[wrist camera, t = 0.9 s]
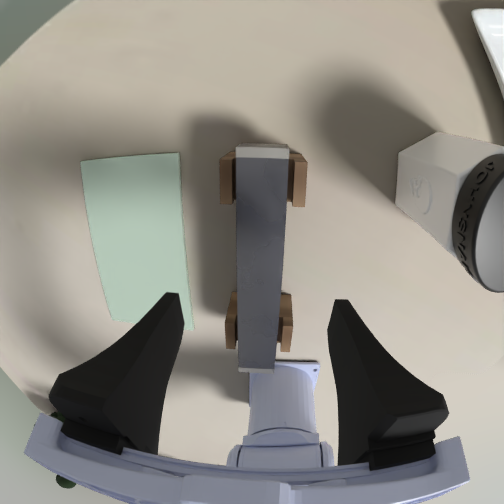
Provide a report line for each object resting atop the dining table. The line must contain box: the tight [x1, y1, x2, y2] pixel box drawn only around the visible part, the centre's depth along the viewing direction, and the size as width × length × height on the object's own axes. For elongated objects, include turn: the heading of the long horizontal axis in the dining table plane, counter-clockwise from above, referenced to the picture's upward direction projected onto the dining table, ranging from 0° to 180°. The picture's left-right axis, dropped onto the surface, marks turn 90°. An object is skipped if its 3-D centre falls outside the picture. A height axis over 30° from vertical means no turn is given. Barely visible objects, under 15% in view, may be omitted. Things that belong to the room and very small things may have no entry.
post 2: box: [225, 292, 293, 352], centre depth 26 cm, size 3×6×5 cm, turn 89°
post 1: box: [220, 152, 308, 207], centre depth 21 cm, size 3×6×5 cm, turn 89°
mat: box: [80, 153, 194, 330], centre depth 27 cm, size 18×10×1 cm, turn 179°
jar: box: [395, 132, 504, 293], centre depth 16 cm, size 9×8×12 cm
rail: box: [236, 143, 289, 374], centre depth 21 cm, size 18×3×3 cm, turn 179°
